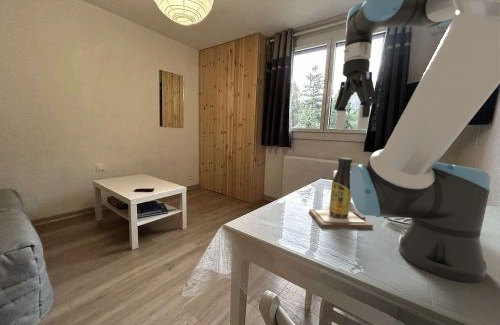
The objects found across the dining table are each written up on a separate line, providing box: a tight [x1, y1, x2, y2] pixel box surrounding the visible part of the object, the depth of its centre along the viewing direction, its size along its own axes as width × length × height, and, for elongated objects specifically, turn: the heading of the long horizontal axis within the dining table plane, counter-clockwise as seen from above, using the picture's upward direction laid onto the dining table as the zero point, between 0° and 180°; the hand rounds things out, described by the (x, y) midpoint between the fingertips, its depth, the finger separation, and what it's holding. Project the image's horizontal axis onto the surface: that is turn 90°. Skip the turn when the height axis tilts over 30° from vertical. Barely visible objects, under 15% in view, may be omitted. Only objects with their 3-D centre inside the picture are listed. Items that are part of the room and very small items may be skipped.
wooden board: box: [308, 208, 374, 230], centre depth 72 cm, size 13×16×2 cm
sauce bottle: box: [328, 157, 353, 218], centre depth 70 cm, size 6×6×20 cm
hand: (350, 129), depth 70 cm, fingers open, 13 cm apart
